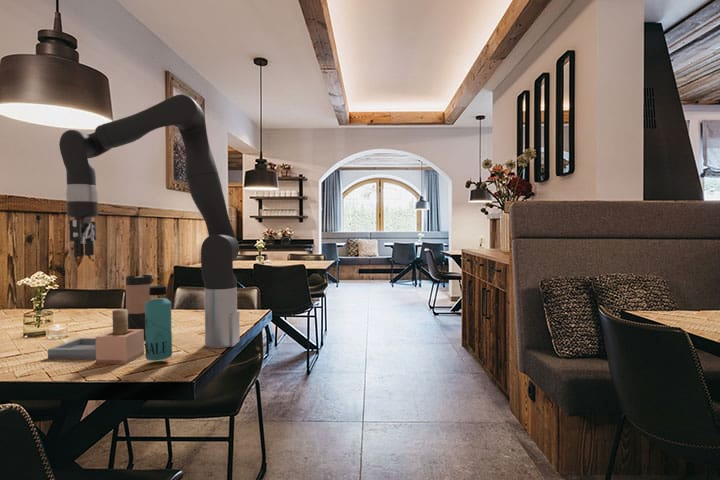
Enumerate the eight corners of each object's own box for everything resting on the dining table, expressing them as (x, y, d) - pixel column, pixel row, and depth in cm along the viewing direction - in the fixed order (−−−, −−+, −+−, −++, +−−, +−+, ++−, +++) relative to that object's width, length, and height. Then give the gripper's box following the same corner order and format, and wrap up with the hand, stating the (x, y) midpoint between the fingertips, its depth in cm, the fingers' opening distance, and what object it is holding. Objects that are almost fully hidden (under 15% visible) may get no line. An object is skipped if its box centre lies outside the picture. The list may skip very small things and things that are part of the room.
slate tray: (126, 346, 119) (126, 337, 119) (98, 358, 107) (98, 349, 107) (80, 346, 120) (80, 337, 120) (47, 358, 108) (47, 349, 108)
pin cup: (144, 354, 111) (143, 329, 111) (126, 363, 103) (126, 336, 103) (115, 354, 111) (115, 329, 111) (96, 363, 103) (95, 336, 103)
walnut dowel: (131, 353, 109) (130, 309, 109) (123, 357, 105) (122, 311, 105) (118, 353, 109) (117, 309, 109) (110, 357, 106) (109, 311, 105)
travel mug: (141, 342, 124) (140, 277, 124) (120, 340, 125) (119, 277, 125) (158, 335, 131) (157, 275, 131) (138, 334, 133) (137, 274, 133)
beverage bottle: (165, 357, 109) (164, 283, 108) (177, 362, 104) (176, 285, 104) (140, 363, 104) (139, 286, 103) (151, 368, 99) (150, 288, 99)
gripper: (88, 198, 112) (91, 256, 112) (104, 202, 125) (106, 254, 126) (57, 198, 109) (59, 258, 110) (76, 203, 123) (78, 255, 123)
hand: (84, 256), depth 118 cm, fingers open, 8 cm apart
